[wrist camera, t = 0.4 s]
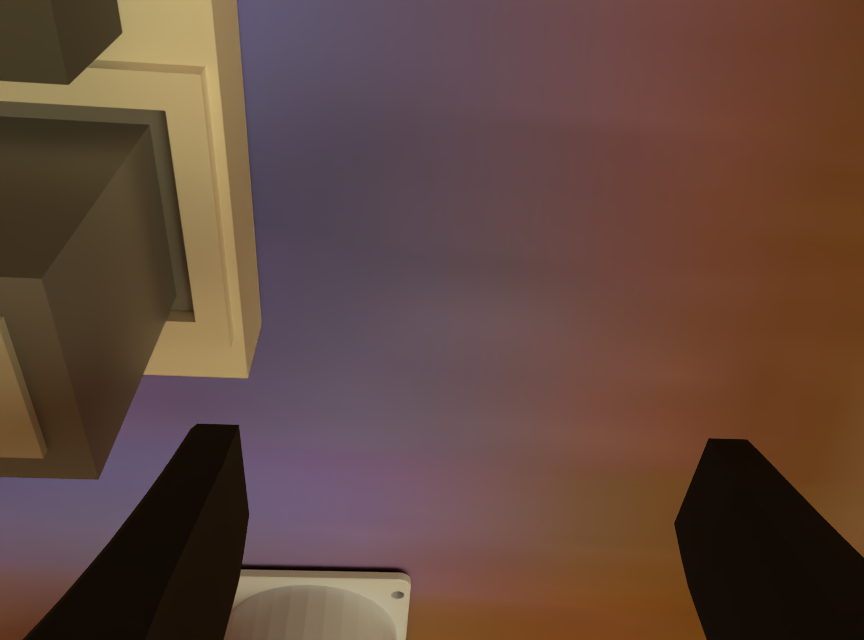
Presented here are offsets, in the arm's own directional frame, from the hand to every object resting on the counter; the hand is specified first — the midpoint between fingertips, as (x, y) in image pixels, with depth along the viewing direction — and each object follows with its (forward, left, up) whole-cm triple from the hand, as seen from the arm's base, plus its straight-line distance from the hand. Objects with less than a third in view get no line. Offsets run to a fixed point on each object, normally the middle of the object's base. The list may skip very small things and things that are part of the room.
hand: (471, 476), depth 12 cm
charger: (0, +9, -8) cm, 12 cm away
